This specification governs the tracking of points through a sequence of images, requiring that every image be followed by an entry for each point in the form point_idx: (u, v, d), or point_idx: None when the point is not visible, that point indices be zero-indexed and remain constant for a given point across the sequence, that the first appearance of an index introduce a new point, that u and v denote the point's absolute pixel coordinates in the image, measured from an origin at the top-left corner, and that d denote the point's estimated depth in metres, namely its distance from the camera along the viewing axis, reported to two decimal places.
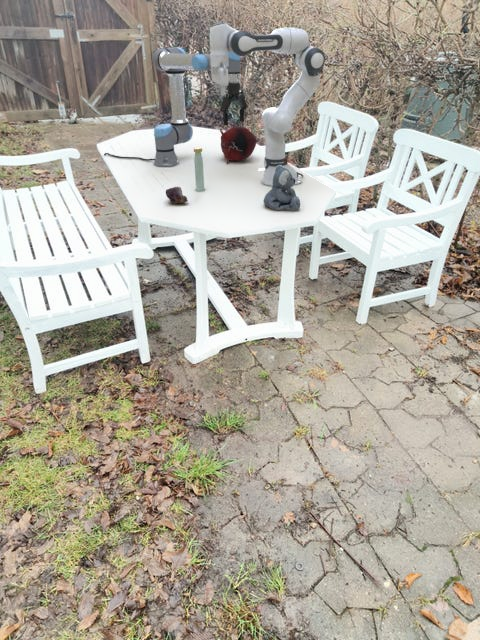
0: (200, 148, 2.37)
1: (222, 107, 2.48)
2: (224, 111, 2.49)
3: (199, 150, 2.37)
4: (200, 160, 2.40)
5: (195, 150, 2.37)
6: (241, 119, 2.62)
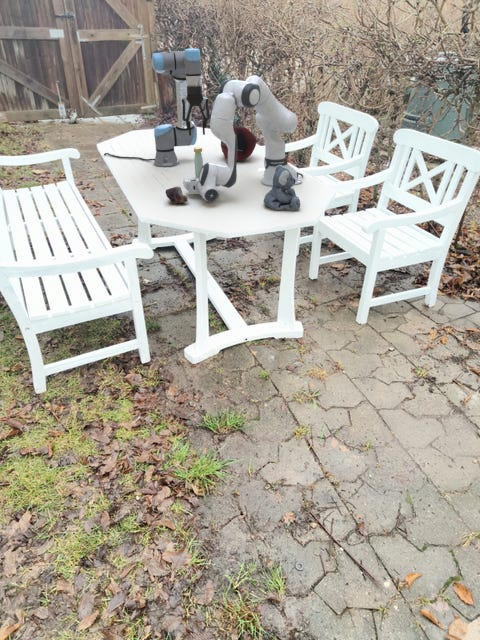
0: (200, 148, 2.37)
1: None
2: None
3: (199, 150, 2.37)
4: (200, 160, 2.40)
5: (195, 150, 2.37)
6: (190, 132, 2.33)
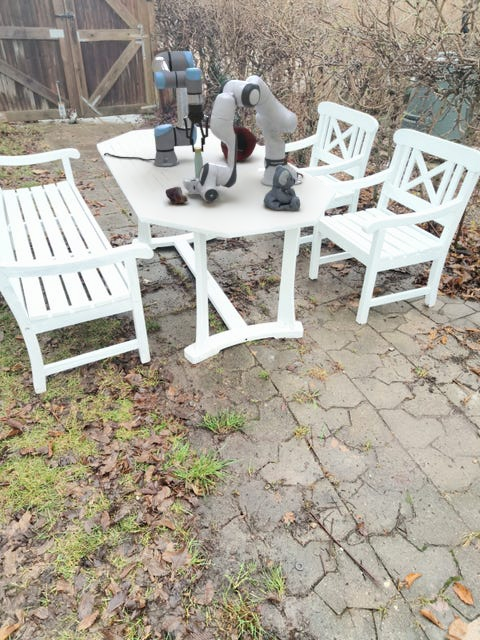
0: (200, 148, 2.37)
1: (207, 132, 2.35)
2: None
3: (199, 150, 2.37)
4: (200, 160, 2.40)
5: (195, 150, 2.37)
6: (193, 149, 2.38)
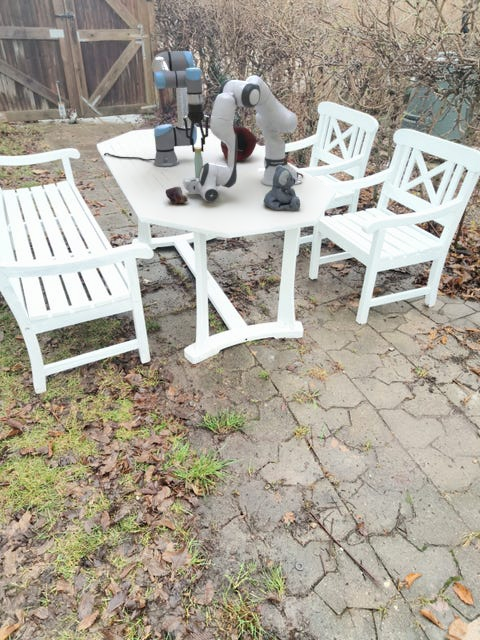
0: (198, 147, 2.39)
1: (207, 131, 2.35)
2: None
3: None
4: (200, 160, 2.40)
5: (201, 149, 2.38)
6: (193, 149, 2.38)
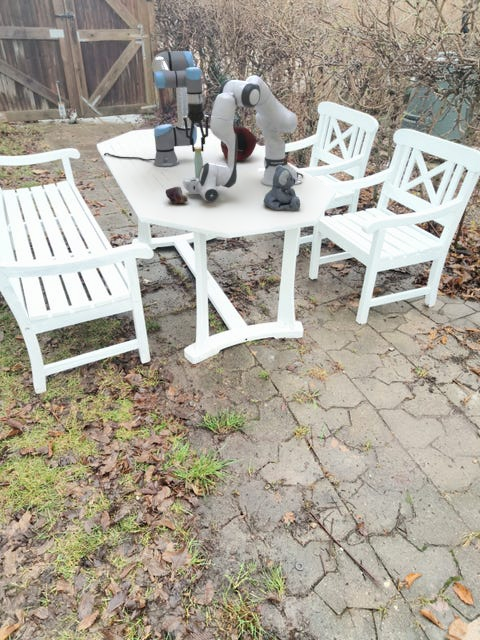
0: (194, 147, 2.38)
1: (207, 131, 2.34)
2: None
3: None
4: (200, 160, 2.40)
5: None
6: (193, 148, 2.38)
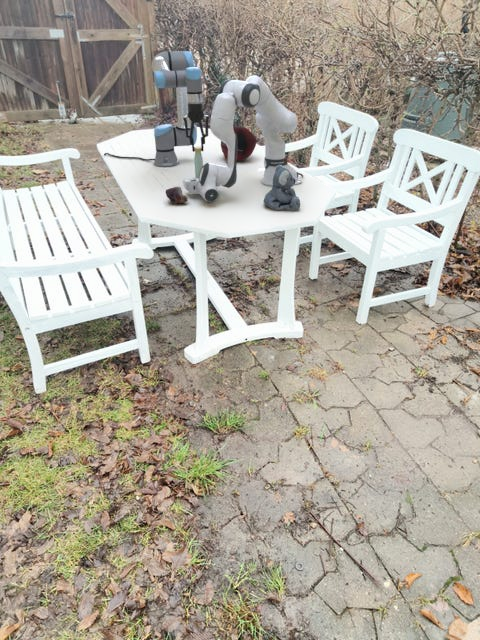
0: (197, 148, 2.36)
1: (207, 131, 2.34)
2: None
3: (195, 149, 2.37)
4: (200, 160, 2.40)
5: (194, 149, 2.38)
6: (193, 148, 2.38)
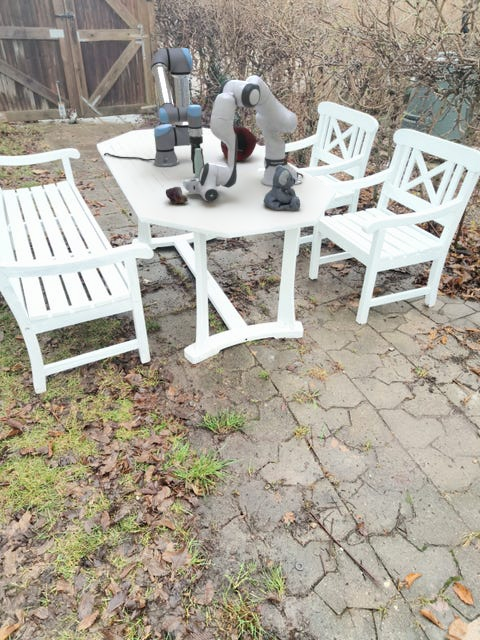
0: None
1: None
2: None
3: None
4: (200, 160, 2.40)
5: None
6: None
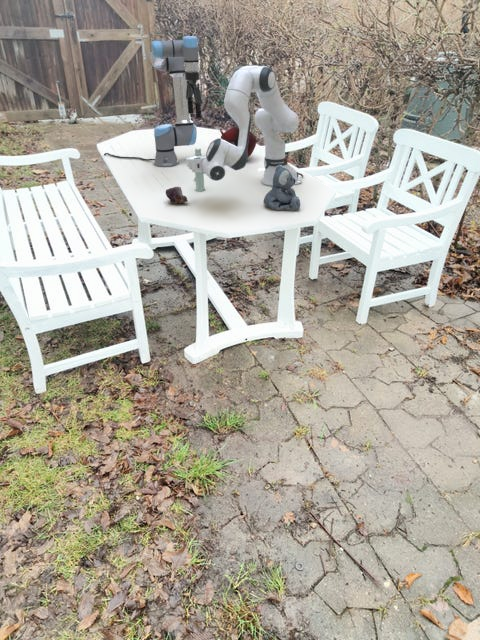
0: None
1: None
2: None
3: None
4: None
5: None
6: None
